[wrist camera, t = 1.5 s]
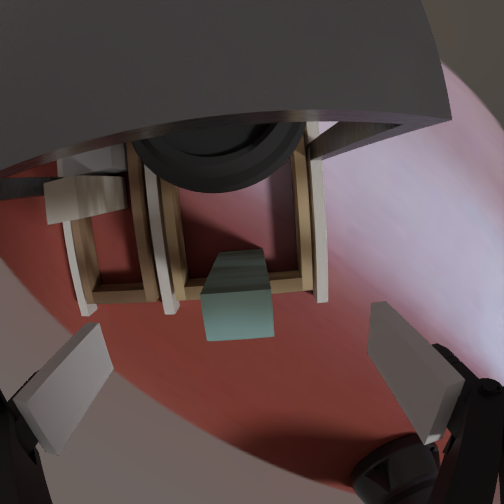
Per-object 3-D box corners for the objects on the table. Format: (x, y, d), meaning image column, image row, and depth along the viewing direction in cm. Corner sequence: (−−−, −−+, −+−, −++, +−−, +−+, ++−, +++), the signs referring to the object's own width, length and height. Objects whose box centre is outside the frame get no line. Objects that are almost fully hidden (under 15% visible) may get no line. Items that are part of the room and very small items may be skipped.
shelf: (316, 161, 26) (451, 119, 7) (69, 193, 26) (-91, 217, 7) (304, 61, 24) (377, -84, 5) (67, 102, 24) (-74, 56, 5)
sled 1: (163, 292, 28) (130, 335, 19) (97, 295, 28) (51, 332, 20) (143, 88, 24) (102, 54, 15) (77, 106, 24) (24, 86, 15)
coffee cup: (164, 163, 26) (76, 144, 11) (210, 79, 24) (174, -15, 9) (252, 207, 27) (256, 233, 12) (299, 121, 25) (352, 54, 10)
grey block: (134, 170, 26) (112, 167, 21) (90, 178, 26) (63, 178, 21) (131, 119, 25) (109, 108, 20) (88, 130, 25) (61, 123, 20)
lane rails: (323, 294, 28) (328, 301, 26) (90, 308, 29) (81, 315, 27) (304, 57, 24) (308, 49, 22) (67, 98, 24) (57, 94, 22)
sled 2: (307, 281, 28) (339, 336, 17) (182, 291, 28) (147, 349, 17) (290, 70, 24) (313, 10, 13) (162, 84, 24) (116, 34, 13)
